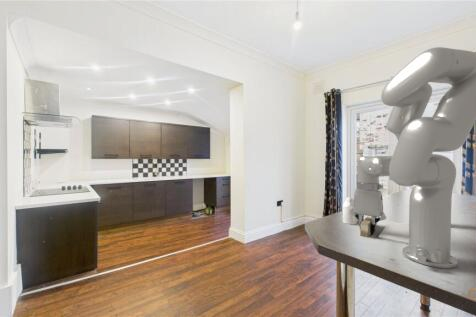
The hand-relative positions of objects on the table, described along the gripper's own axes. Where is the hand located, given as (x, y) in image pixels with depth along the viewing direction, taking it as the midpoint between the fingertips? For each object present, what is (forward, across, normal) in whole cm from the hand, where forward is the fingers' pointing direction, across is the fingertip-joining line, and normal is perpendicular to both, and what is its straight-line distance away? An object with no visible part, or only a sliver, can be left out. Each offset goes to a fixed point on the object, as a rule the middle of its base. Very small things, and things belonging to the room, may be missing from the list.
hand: (367, 231), depth 89 cm
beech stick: (0, 0, -3) cm, 3 cm away
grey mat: (0, -9, -9) cm, 13 cm away
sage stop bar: (0, +9, -13) cm, 16 cm away
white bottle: (0, +9, -9) cm, 13 cm away
